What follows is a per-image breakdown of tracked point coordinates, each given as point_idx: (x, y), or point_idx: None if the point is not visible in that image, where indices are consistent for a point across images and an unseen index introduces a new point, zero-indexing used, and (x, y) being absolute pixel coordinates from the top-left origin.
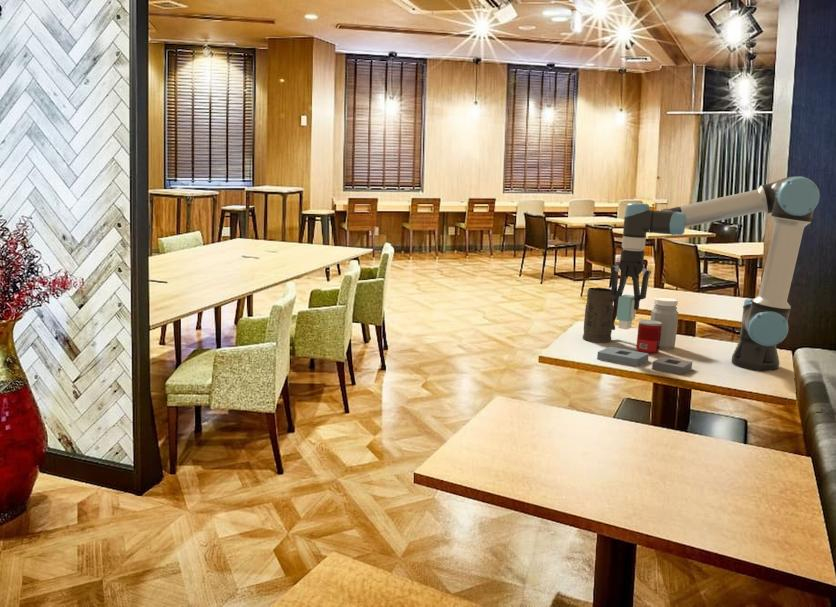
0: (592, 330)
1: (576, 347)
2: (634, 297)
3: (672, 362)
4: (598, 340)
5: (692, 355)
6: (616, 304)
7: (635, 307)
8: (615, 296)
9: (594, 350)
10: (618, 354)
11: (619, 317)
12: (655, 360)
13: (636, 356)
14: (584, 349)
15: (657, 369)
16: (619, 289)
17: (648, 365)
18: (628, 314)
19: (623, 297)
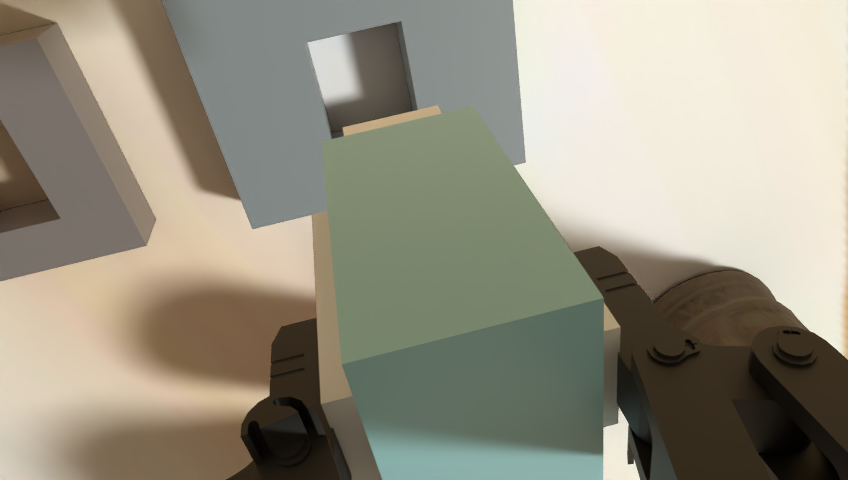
0: (744, 316)
1: (729, 89)
2: (327, 457)
3: (38, 216)
4: (675, 295)
5: (217, 473)
6: (604, 266)
7: (304, 344)
8: (701, 344)
9: (613, 125)
10: (353, 3)
11: (446, 126)
12: (65, 98)
13: (234, 77)
14: (671, 90)
15: (11, 34)
16: (721, 476)
17: (159, 100)
18: (331, 185)
19: (501, 318)
